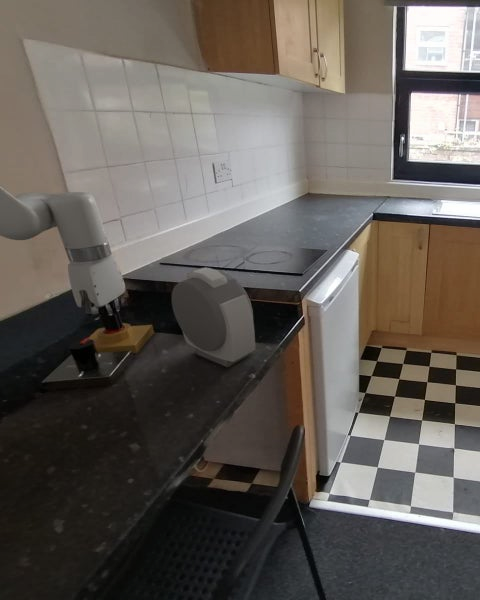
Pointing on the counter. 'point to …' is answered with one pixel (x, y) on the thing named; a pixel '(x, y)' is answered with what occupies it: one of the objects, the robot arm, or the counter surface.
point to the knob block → (122, 338)
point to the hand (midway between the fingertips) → (114, 328)
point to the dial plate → (88, 372)
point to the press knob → (112, 331)
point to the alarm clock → (215, 315)
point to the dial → (85, 354)
